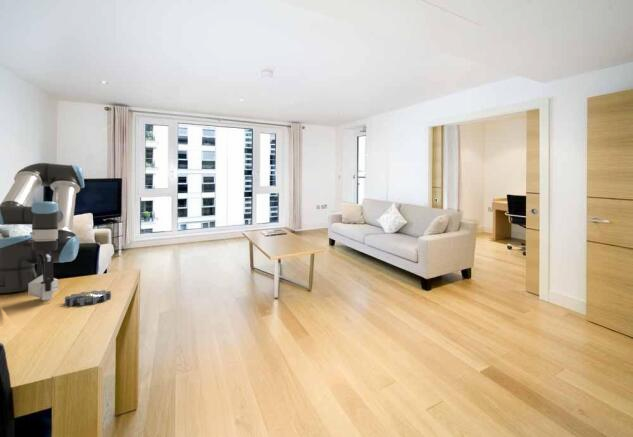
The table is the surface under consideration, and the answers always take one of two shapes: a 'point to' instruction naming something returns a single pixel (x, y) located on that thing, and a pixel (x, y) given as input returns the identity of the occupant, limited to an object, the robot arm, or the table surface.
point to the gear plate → (87, 298)
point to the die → (40, 287)
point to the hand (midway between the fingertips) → (44, 297)
